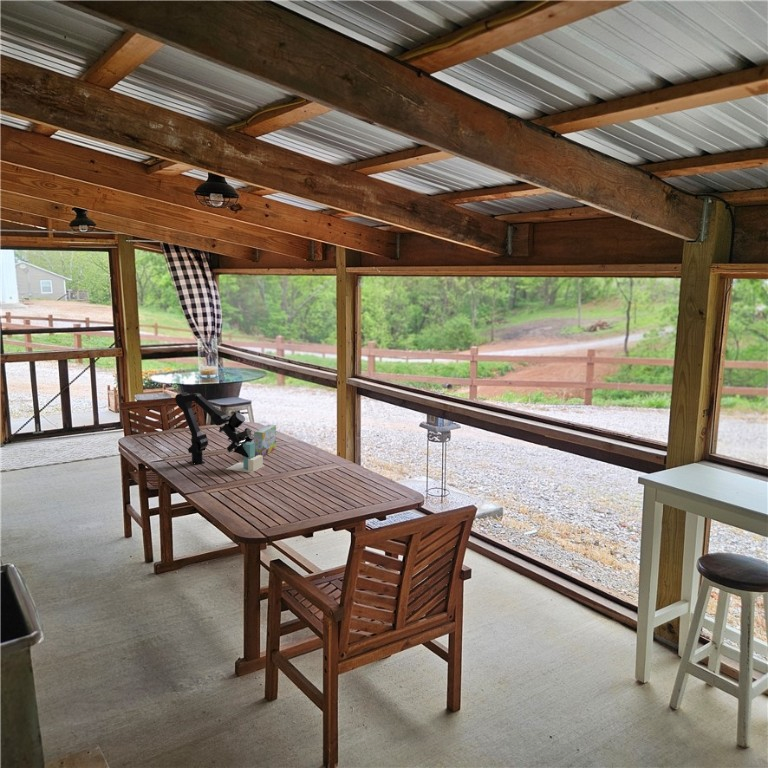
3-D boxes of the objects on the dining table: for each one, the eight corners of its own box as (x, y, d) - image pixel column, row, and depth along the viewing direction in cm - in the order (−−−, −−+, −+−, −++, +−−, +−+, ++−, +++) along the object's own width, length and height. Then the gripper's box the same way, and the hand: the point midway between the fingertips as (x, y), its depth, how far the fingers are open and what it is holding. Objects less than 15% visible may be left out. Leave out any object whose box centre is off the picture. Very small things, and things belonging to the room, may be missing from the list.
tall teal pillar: (243, 468, 332) (243, 443, 330) (248, 465, 337) (248, 441, 335) (250, 468, 331) (250, 444, 329) (254, 466, 336) (254, 442, 334)
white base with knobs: (225, 470, 330) (225, 457, 329) (239, 464, 344) (239, 451, 343) (251, 474, 326) (251, 460, 325) (264, 467, 339) (264, 454, 338)
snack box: (262, 458, 356) (262, 432, 354) (253, 457, 357) (253, 431, 355) (276, 449, 377) (276, 424, 375) (267, 448, 378) (267, 423, 376)
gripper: (232, 427, 323) (251, 450, 321) (250, 420, 340) (269, 442, 339) (218, 440, 326) (237, 463, 325) (238, 433, 344) (256, 455, 342)
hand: (250, 455), depth 333 cm, fingers closed on tall teal pillar, 5 cm apart
